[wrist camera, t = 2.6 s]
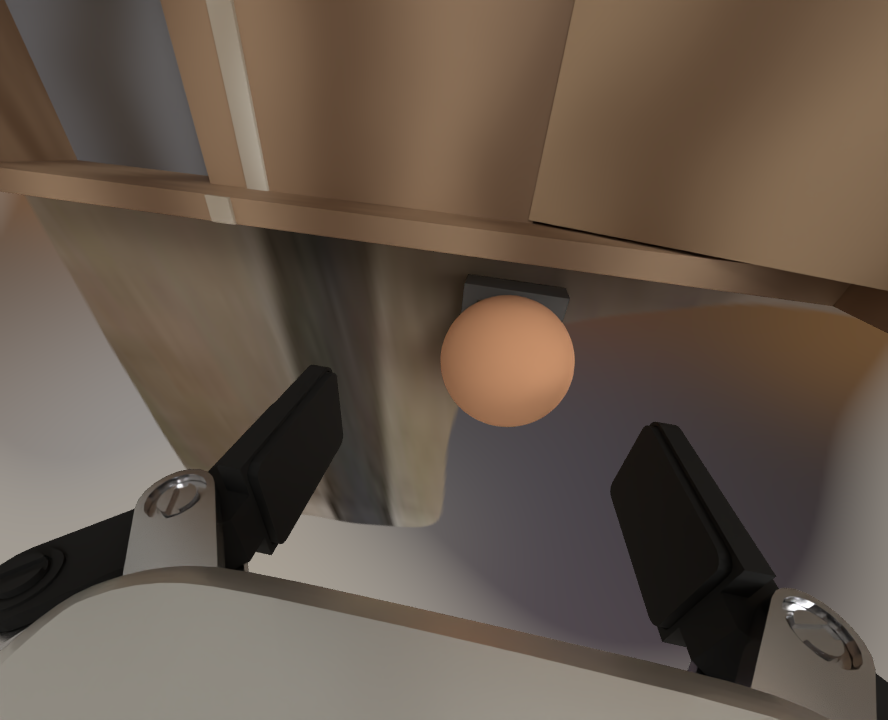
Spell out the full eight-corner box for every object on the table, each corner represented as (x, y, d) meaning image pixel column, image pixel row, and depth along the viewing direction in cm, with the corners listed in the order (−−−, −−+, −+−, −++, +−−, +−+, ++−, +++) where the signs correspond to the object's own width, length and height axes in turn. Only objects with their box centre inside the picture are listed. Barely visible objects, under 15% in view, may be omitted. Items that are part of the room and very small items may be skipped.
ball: (581, 286, 13) (611, 349, 9) (548, 385, 16) (559, 468, 12) (457, 268, 14) (432, 320, 9) (447, 367, 16) (423, 440, 12)
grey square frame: (565, 288, 14) (569, 298, 13) (541, 368, 16) (543, 383, 15) (468, 274, 14) (464, 283, 13) (458, 354, 17) (454, 367, 16)
